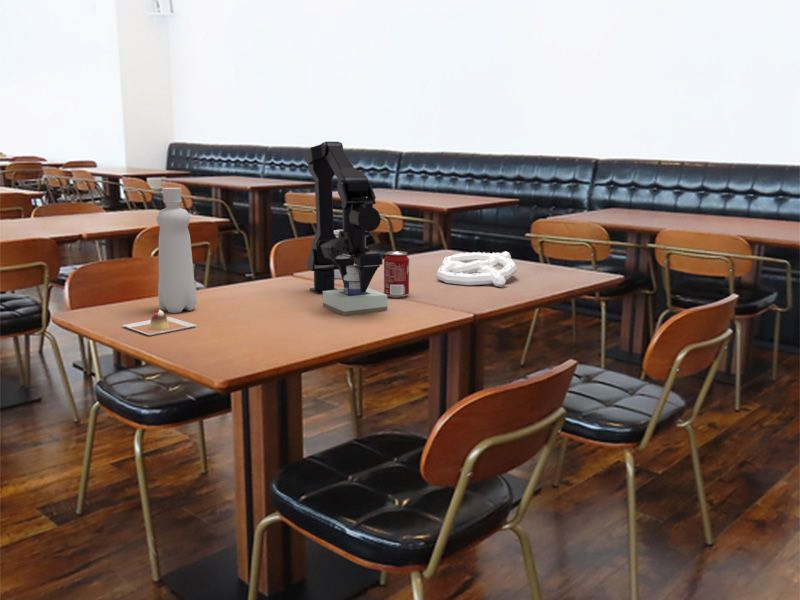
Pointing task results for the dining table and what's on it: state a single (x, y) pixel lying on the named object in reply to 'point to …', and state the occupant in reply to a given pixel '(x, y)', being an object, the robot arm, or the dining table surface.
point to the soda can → (396, 274)
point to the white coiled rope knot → (477, 268)
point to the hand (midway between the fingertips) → (354, 289)
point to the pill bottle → (352, 282)
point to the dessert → (160, 323)
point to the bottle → (175, 256)
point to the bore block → (354, 302)
